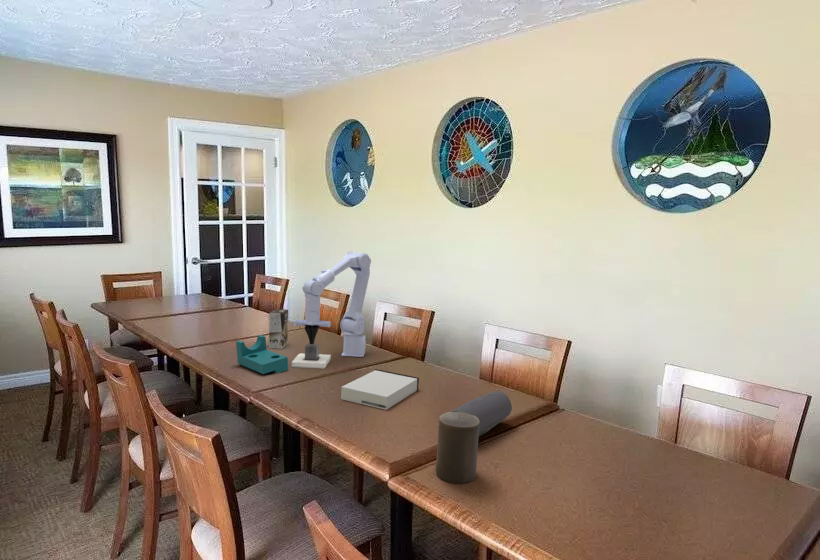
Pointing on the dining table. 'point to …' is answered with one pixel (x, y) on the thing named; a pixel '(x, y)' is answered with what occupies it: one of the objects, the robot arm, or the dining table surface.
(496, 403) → the bluetooth speaker
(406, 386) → the disc drive
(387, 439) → the dining table surface
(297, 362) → the socket
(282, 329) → the coffee box
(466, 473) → the pillar candle
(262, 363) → the teal l-shaped bracket
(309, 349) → the plug
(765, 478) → the dining table surface
